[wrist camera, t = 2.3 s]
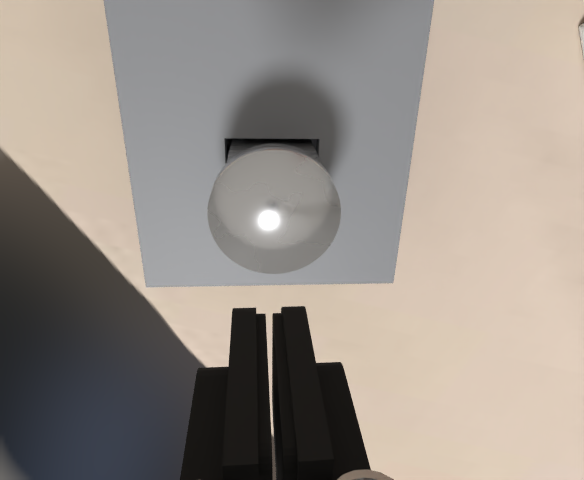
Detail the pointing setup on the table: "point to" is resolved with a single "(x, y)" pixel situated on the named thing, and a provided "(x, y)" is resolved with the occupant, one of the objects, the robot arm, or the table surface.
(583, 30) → the skincare box
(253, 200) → the grey plunger
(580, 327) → the table surface
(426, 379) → the table surface
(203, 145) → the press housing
